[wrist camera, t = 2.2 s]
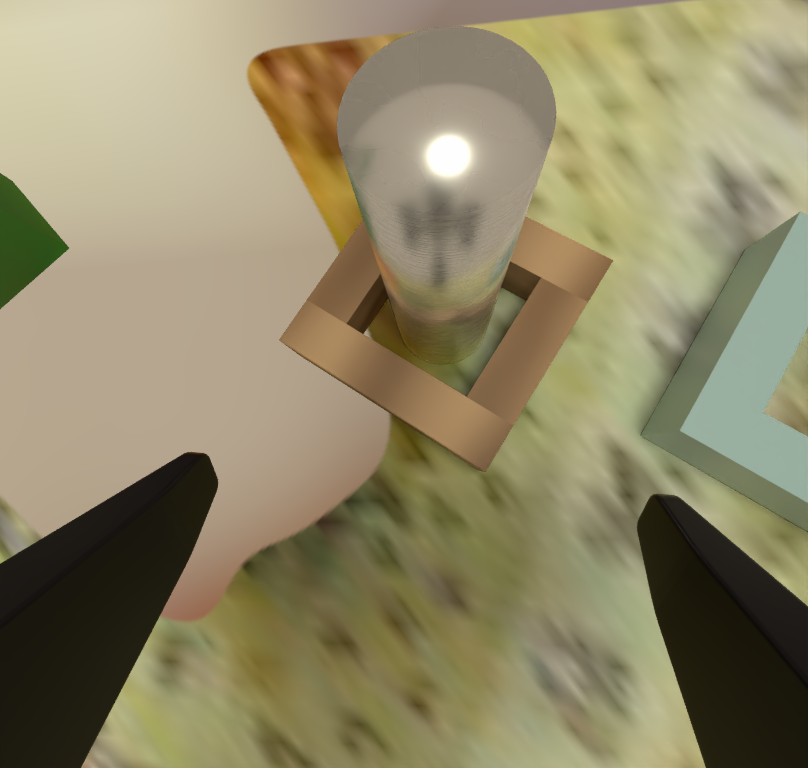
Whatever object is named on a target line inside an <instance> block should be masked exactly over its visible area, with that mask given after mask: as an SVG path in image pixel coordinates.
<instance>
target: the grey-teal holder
mask: <svg viewBox="0 0 808 768" xmlns="http://www.w3.org/2000/svg"><path fill="white" fill-rule="evenodd" d="M807 328H808V215H807V214H805V213H802V212H799V213H798V214H796V215H795V216H793V217H792V218H791V219H789V220H788V221H786V222H785V223H783V224H782V225H780V226H779V227H778V228H776V229H775V230H773V231H772V232H770V233H769V234H767V235H766V236H765V237H763V238H762V239H760V240H759V241H757V242H756V243H754V244H753V245H752V246H750V247H749V248H747V249H746V250H745V251H744V253H743V254H742V256H741V258H740V260H739V261H738V263H737V265H736V267H735V268H734V270H733V272H732V274H731V276H730V277H729V279H728V281H727V283H726V284H725V286H724V288H723V290H722V292H721V293H720V295H719V297H718V299H717V300H716V302H715V304H714V306H713V308H712V309H711V311H710V313H709V315H708V316H707V318H706V320H705V322H704V324H703V325H702V327H701V329H700V331H699V332H698V334H697V336H696V338H695V340H694V341H693V343H692V345H691V347H690V348H689V350H688V352H687V354H686V356H685V357H684V359H683V361H682V363H681V364H680V366H679V368H678V370H677V372H676V373H675V375H674V377H673V379H672V380H671V382H670V384H669V386H668V388H667V389H666V391H665V393H664V395H663V396H662V398H661V400H660V402H659V404H658V405H657V407H656V409H655V411H654V412H653V414H652V416H651V418H650V420H649V421H648V423H647V425H646V427H645V428H644V430H643V432H642V434H641V436H642V437H644V438H646V439H647V440H649V441H651V442H653V443H654V444H656V445H658V446H660V447H661V448H663V449H665V450H667V451H668V452H670V453H672V454H674V455H675V456H677V457H679V458H680V459H682V460H684V461H686V462H687V463H689V464H691V465H693V466H694V467H696V468H698V469H700V470H701V471H703V472H705V473H706V474H708V475H710V476H712V477H713V478H715V479H717V480H719V481H720V482H722V483H724V484H726V485H727V486H729V487H731V488H733V489H734V490H736V491H738V492H739V493H741V494H743V495H745V496H746V497H748V498H750V499H752V500H753V501H755V502H757V503H759V504H760V505H762V506H764V507H766V508H767V509H769V510H771V511H772V512H774V513H776V514H778V515H779V516H781V517H783V518H785V519H786V520H788V521H790V522H792V523H793V524H795V525H797V526H799V527H800V528H802V529H804V530H805V531H807V532H808V436H806V435H804V434H802V433H800V432H798V431H796V430H795V429H793V428H791V427H789V426H787V425H785V424H783V423H782V422H780V421H778V420H776V419H774V418H772V417H770V416H768V415H767V414H765V413H763V412H764V410H765V408H766V406H767V404H768V402H769V400H770V398H771V397H772V395H773V393H774V391H775V389H776V387H777V385H778V383H779V381H780V380H781V378H782V376H783V374H784V372H785V370H786V368H787V366H788V364H789V362H790V361H791V359H792V357H793V355H794V353H795V351H796V349H797V347H798V345H799V344H800V342H801V340H802V338H803V336H804V334H805V332H806V330H807Z"/></svg>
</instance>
